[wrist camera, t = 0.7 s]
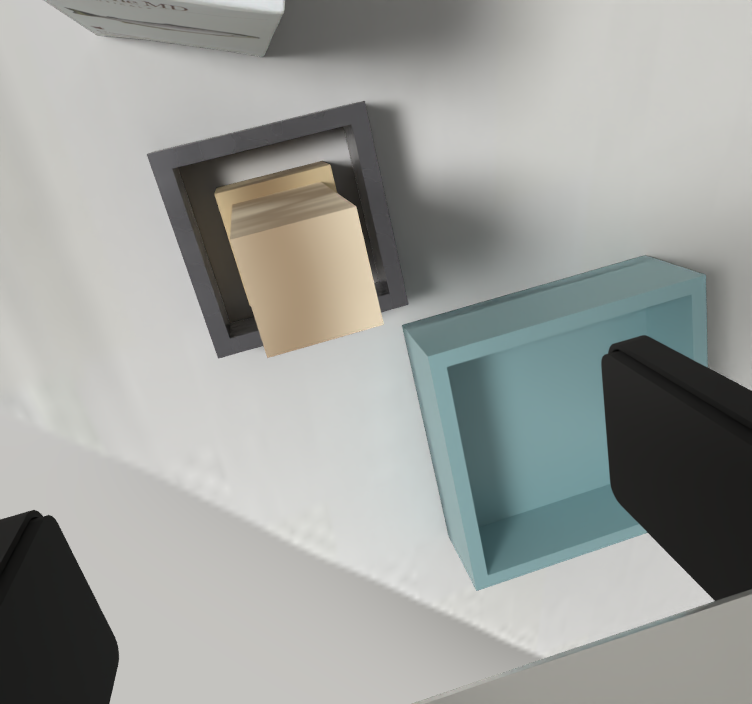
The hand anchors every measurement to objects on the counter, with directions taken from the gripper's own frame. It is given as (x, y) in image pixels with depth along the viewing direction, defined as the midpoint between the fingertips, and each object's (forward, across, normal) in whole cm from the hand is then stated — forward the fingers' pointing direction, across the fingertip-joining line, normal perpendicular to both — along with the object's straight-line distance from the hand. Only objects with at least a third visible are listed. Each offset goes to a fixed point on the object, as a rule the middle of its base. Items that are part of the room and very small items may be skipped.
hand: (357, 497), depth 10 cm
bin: (+23, -13, +13) cm, 29 cm away
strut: (+23, 0, -1) cm, 23 cm away
